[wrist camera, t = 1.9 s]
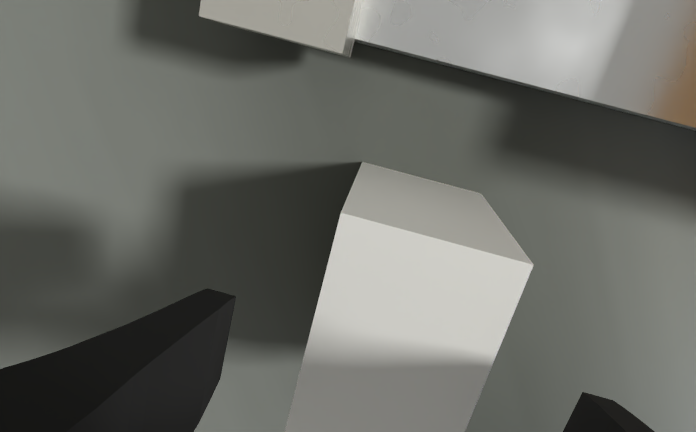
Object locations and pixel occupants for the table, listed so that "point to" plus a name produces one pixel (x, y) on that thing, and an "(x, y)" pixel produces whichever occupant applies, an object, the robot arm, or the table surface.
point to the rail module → (407, 309)
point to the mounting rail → (510, 42)
